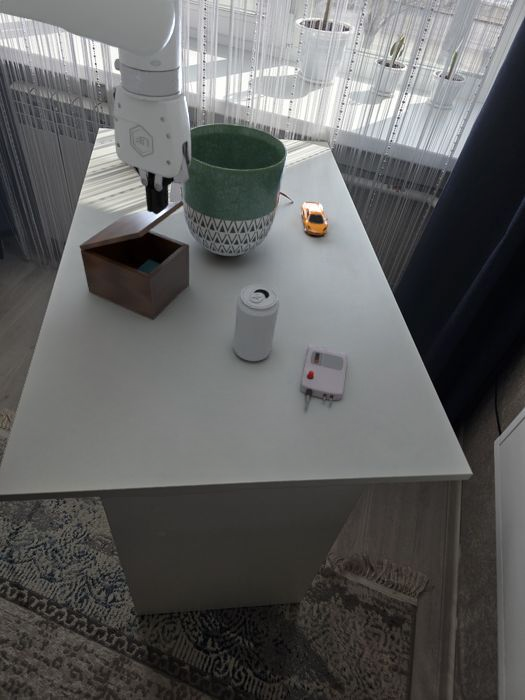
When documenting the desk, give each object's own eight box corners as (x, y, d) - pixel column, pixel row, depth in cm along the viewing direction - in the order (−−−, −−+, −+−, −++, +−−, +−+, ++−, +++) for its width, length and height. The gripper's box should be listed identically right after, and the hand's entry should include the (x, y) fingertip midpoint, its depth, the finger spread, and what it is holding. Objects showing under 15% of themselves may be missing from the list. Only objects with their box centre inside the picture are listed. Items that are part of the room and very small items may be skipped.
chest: (189, 284, 89) (189, 244, 83) (153, 320, 81) (149, 279, 75) (129, 260, 92) (124, 219, 86) (88, 291, 84) (80, 250, 78)
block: (156, 301, 83) (155, 281, 80) (135, 292, 84) (133, 272, 81) (171, 288, 86) (170, 267, 83) (150, 279, 87) (148, 259, 84)
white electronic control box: (346, 349, 81) (350, 337, 79) (338, 420, 71) (343, 409, 68) (309, 340, 82) (312, 328, 80) (295, 410, 71) (298, 398, 69)
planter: (175, 270, 91) (173, 164, 76) (184, 218, 105) (183, 118, 89) (274, 278, 93) (291, 175, 78) (270, 225, 107) (284, 129, 91)
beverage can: (277, 347, 80) (288, 293, 71) (257, 370, 76) (265, 315, 67) (246, 331, 82) (253, 276, 73) (225, 352, 78) (229, 296, 69)
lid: (184, 204, 77) (182, 200, 77) (141, 237, 70) (138, 232, 69) (125, 219, 86) (123, 215, 85) (81, 250, 78) (78, 246, 77)
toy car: (303, 237, 105) (306, 223, 102) (298, 209, 113) (300, 196, 111) (328, 239, 105) (332, 225, 103) (321, 211, 114) (324, 198, 111)
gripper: (83, 70, 59) (102, 204, 72) (185, 101, 55) (185, 236, 68) (121, 58, 64) (133, 185, 77) (217, 86, 60) (211, 214, 73)
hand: (157, 209), depth 72 cm, fingers closed
